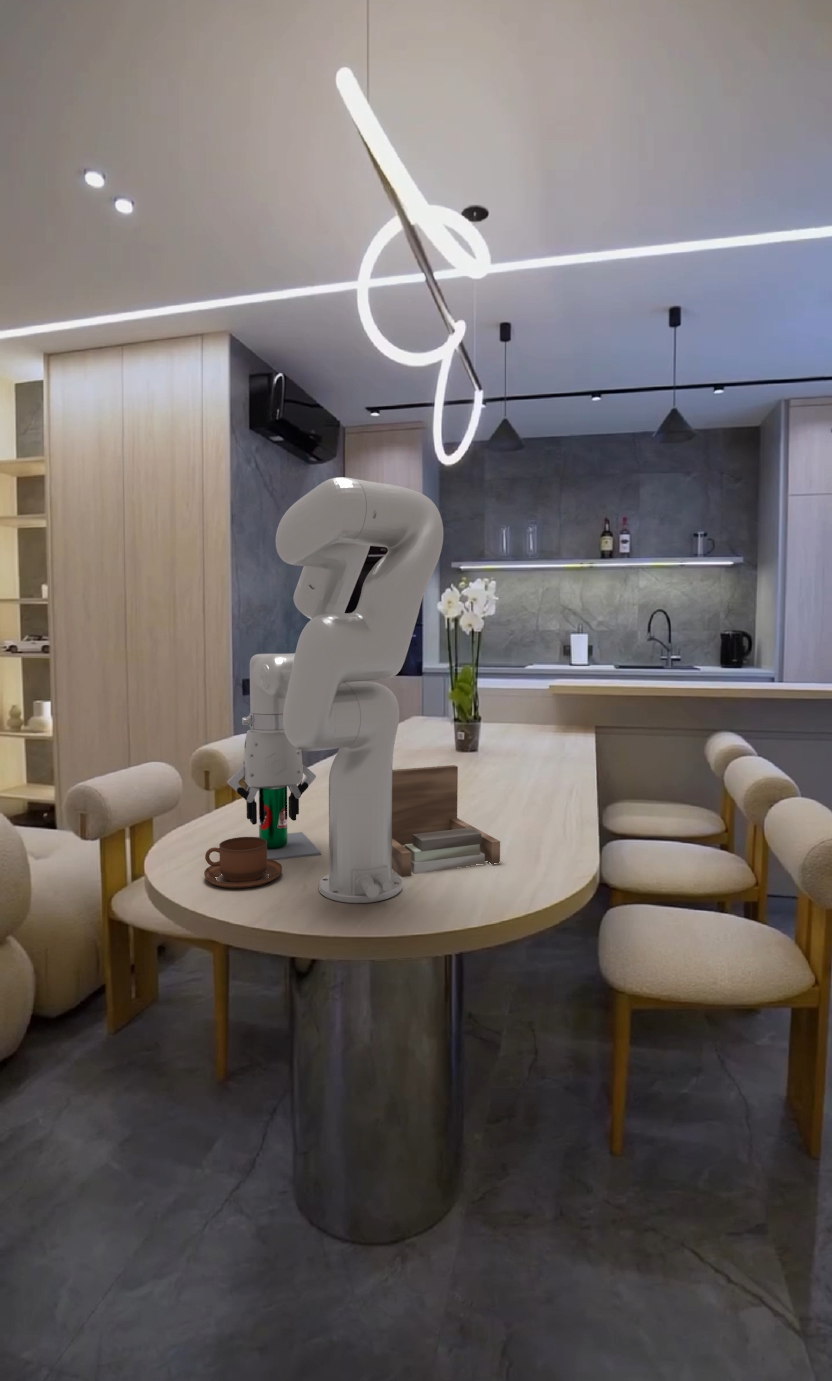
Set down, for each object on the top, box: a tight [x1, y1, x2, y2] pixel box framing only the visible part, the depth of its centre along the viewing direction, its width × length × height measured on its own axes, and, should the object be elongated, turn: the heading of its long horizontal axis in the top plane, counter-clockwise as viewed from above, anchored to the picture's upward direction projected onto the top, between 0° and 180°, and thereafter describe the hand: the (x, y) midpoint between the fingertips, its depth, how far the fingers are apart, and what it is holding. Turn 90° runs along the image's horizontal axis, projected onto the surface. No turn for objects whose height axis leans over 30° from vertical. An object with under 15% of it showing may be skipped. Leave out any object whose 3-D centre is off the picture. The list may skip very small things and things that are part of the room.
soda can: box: [258, 786, 288, 849], centre depth 128 cm, size 5×5×12 cm
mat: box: [257, 831, 322, 861], centre depth 129 cm, size 14×14×1 cm
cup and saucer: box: [203, 836, 283, 889], centre depth 112 cm, size 12×12×6 cm
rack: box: [392, 764, 501, 878], centre depth 125 cm, size 18×18×14 cm
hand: (273, 819), depth 128 cm, fingers open, 6 cm apart
